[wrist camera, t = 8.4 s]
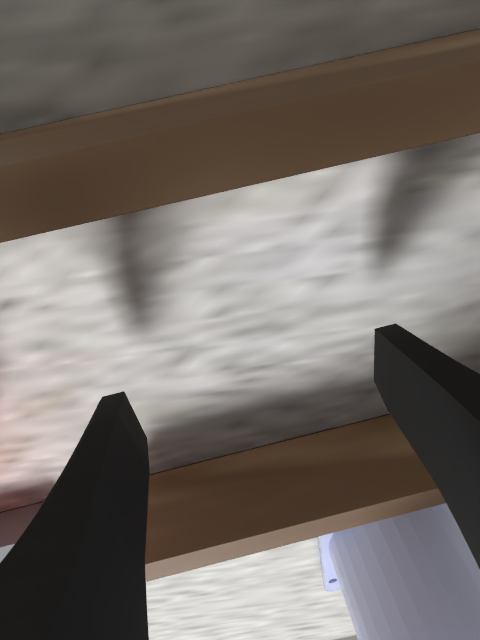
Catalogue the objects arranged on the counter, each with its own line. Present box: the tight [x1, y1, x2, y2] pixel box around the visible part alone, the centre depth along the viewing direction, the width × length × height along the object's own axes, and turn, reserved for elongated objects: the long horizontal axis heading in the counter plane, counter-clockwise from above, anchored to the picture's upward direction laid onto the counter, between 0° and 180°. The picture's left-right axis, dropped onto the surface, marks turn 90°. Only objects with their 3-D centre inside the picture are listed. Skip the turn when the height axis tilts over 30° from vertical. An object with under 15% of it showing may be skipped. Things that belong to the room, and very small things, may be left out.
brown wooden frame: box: [0, 29, 480, 581], centre depth 13 cm, size 14×17×4 cm
